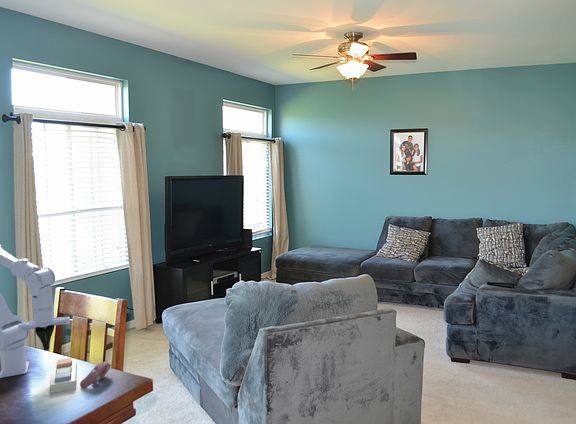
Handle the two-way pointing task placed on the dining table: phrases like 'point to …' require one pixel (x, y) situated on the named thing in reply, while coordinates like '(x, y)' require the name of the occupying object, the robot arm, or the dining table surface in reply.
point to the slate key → (62, 376)
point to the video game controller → (95, 375)
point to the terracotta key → (64, 363)
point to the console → (64, 384)
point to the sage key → (64, 370)
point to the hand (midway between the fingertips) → (46, 348)
